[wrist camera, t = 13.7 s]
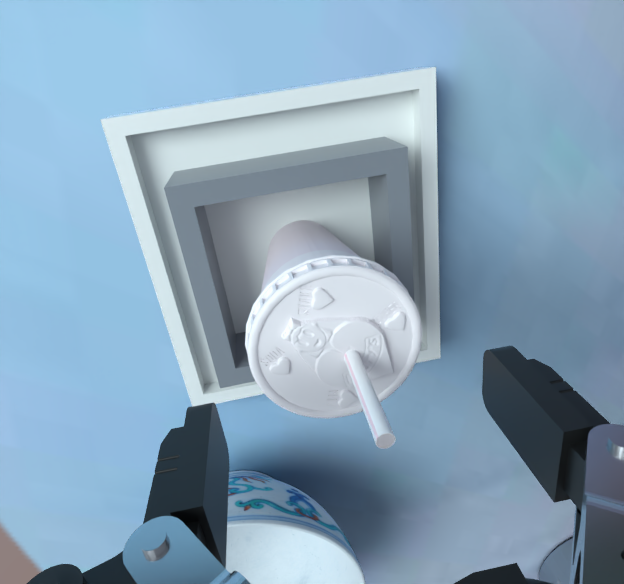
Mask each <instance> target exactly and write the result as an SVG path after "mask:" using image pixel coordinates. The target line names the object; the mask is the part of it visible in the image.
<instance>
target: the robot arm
mask: <svg viewBox="0 0 624 584" xmlns="http://www.w3.org/2000/svg"><path fill="white" fill-rule="evenodd" d="M482 394H483V400H484V404H485V406H486V409H487V411H488V412H489V414H490V415H491V417H492V418H493V419H494V421H495V422H496V424H497V425H498V426H499V428H500V429H501V430H502V432H503V433H504V434H505V436H506V437H507V439H508V440H509V441H510V443H511V444H512V445H513V447H514V448H515V450H516V451H517V452H518V454H519V455H520V456H521V458H522V459H523V461H524V462H525V463H526V465H527V466H528V467H529V469H530V470H531V471H532V473H533V474H534V476H535V477H536V478H537V480H538V481H539V482H540V484H541V485H542V487H543V488H544V489H545V491H546V492H547V493H548V495H549V496H550V497H551V499H552V500H553V502H559V501H563V500H568V499H571V500H572V501H573V503H574V504H575V505H576V511H575V519H574V532H573V538H572V539H570V540H568V541H566V542H565V543H563V544H562V545H560V546H559V547H557V548H556V549H555V550H554V551H553V552H552V553H551V554H550V555H549V556H548V557H547V558H546V560H545V561H544V563H543V565H542V566H541V569H540V572H539V580H535V579H527V578H525V577H524V575H523V574H522V572H521V570H520V568H519V567H518V565H517V563H515V564H510V565H506V566H501V567H497V568H492V569H488V570H484V571H479V572H475V573H472V574H470V575H468V576H467V577H465V578H463V579H461V580H460V581H458V582H456V583H454V584H624V426H623V425H617V424H610V423H609V422H608V421H607V420H606V419H605V418H604V417H603V416H602V415H600V414H599V413H598V412H597V411H596V410H595V409H594V408H593V407H592V406H591V405H590V404H589V403H588V402H587V401H586V400H585V399H584V398H583V397H581V396H580V395H579V394H578V393H577V392H576V391H573V388H572V387H571V386H570V385H569V384H568V383H567V382H566V381H563V379H562V378H561V377H560V376H559V375H558V374H557V373H556V372H555V371H554V370H553V369H552V368H551V367H549V366H547V365H545V364H543V363H541V362H539V361H537V360H535V359H530V360H527V359H526V358H525V357H524V356H523V355H522V354H521V353H520V352H519V351H518V350H517V349H516V348H515V347H513V346H506V347H501V348H496V349H491V350H486V351H485V353H484V357H483V386H482ZM228 486H229V454H228V448H227V443H226V439H225V436H224V432H223V429H222V425H221V422H220V418H219V414H218V411H217V408H216V405H215V403H214V402H213V403H208V404H203V405H198V406H193V407H188V408H187V412H186V418H185V424H184V427H180V428H174V429H171V430H170V432H169V433H168V435H167V436H166V437H165V439H164V440H163V442H162V443H161V446H160V450H159V455H158V462H157V464H156V468H155V475H154V478H153V482H152V487H151V491H150V496H149V500H148V505H147V509H146V514H145V518H144V522H143V525H141V526H140V527H139V528H138V529H136V530H135V531H134V533H133V534H132V535H131V536H130V538H129V539H128V541H127V542H126V544H125V547H124V550H123V551H122V552H121V553H120V554H118V555H117V556H115V557H113V558H112V559H110V560H108V561H106V562H104V563H102V564H100V565H98V566H96V567H94V568H92V569H90V570H88V571H86V572H84V573H82V572H81V571H80V569H79V568H77V567H76V566H74V565H71V564H61V565H56V566H53V567H50V568H48V569H46V570H44V571H43V572H41V573H39V574H38V575H37V576H35V577H34V578H33V579H31V580H30V581H29V582H28V583H27V584H250V582H249V581H248V580H247V579H246V578H245V577H244V576H243V575H242V574H240V573H239V572H237V571H233V572H232V573H230V572H228V571H227V570H226V545H227V515H228Z"/></svg>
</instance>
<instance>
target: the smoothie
mask: <svg viewBox="0 0 624 584" xmlns="http://www.w3.org/2000/svg"><path fill="white" fill-rule="evenodd" d="M421 343H422V324H421V319H420V315H419V312H418V309H417V307H416V305H415V303H414V301H413V299H412V298H411V297H410V295H409V293H408V290H407V289H406V288H405V287H404V285H403V284H402V283H401V282H400V280H399V279H398V278H397V277H396V275H395V274H393V273H392V272H390V271H389V270H387V269H386V268H384V267H383V266H381V265H380V264H378V263H376V262H373V261H370V260H367V259H364V258H361V257H359V256H358V255H357V254H356V253H355V252H353V251H352V250H351V249H350V248H349V247H347V246H346V245H345V244H344V243H343V242H341V241H340V240H339V239H338V238H337V237H335V236H334V235H333V234H332V233H331V232H329V231H328V230H327V229H326V228H325V227H323V226H322V225H320V224H318V223H316V222H313V221H307V220H301V221H295V222H291V223H289V224H287V225H285V226H283V227H282V228H281V229H280V230H279V231H277V233H276V234H275V235H274V236H273V238H272V240H271V242H270V245H269V249H268V255H267V261H266V266H265V272H264V278H263V283H262V289H261V294H260V296H259V297H258V298H257V300H256V301H255V303H254V304H253V307H252V309H251V312H250V315H249V318H248V321H247V323H246V336H245V347H246V350H247V354H248V362H249V366H250V370H251V372H252V375H253V377H254V379H255V381H256V383H257V385H258V386H259V388H260V389H261V390H262V391H263V393H264V394H265V395H266V396H267V397H268V398H269V399H270V400H272V401H273V402H274V403H276V404H277V405H279V406H280V407H282V408H284V409H286V410H288V411H290V412H293V413H295V414H299V415H302V416H307V417H313V418H337V417H344V416H349V415H352V414H356V413H359V412H362V411H364V413H365V416H366V419H367V421H368V424H369V427H370V429H371V432H372V435H373V437H374V440H375V443H376V445H377V447H379V448H381V449H386V448H389V447H391V446H392V445H393V444H394V443H395V436H394V434H393V431H392V429H391V427H390V424H389V422H388V420H387V418H386V415H385V413H384V411H383V408H382V406H381V404H380V402H381V401H383V400H384V399H386V398H387V397H389V396H390V395H391V394H392V393H393V392H394V391H396V390H397V389H398V388H399V387H400V386H401V384H402V383H403V382H404V381H405V380H406V378H407V377H408V376H409V374H410V372H411V371H412V369H413V367H414V365H415V363H416V361H417V358H418V356H419V352H420V349H421Z"/></svg>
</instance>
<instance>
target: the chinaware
mask: <svg viewBox="0 0 624 584" xmlns="http://www.w3.org/2000/svg"><path fill="white" fill-rule="evenodd" d="M226 570H227V571H228V572H230V573H232V572H233V571H237V572H239V573H240V574H242V575H243V576H244V577H245V578H246V579H247V580H248V581H249V582H250V584H365V578H364V575H363V571H362V569H361V566H360V564H359V561H358V559H357V557H356V555H355V553H354V551H353V549H352V547H351V545H350V543H349V542H348V540H347V538H346V537H345V535H344V533H343V532H342V530H341V529H340V528H339V526H338V525H337V523H336V522H335V521H334V520H333V518H332V517H331V516H330V515H329V514H328V513H327V511H326V510H325V509H324V508H323V507H322V506H321V505H319V504H318V503H317V502H316V501H315V500H314V499H312V498H311V497H310V496H308V495H307V494H305V493H304V492H302V491H300V490H299V489H297V488H295V487H293V486H291V485H289V484H286V483H284V482H281V481H278V480H275V479H273V478H272V477H270V476H268V475H266V474H263V473H260V472H256V471H248V470H240V471H232V472H229V486H228V515H227V545H226Z"/></svg>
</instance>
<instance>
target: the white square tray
mask: <svg viewBox="0 0 624 584" xmlns="http://www.w3.org/2000/svg"><path fill="white" fill-rule="evenodd" d="M101 123H102V126H103V129H104V132H105V136H106V139H107V142H108V145H109V148H110V151H111V154H112V157H113V160H114V164H115V167H116V170H117V173H118V176H119V179H120V182H121V185H122V189H123V192H124V195H125V198H126V201H127V204H128V207H129V210H130V213H131V217H132V220H133V223H134V226H135V229H136V232H137V235H138V238H139V241H140V245H141V248H142V251H143V254H144V257H145V260H146V263H147V266H148V269H149V273H150V276H151V279H152V282H153V285H154V288H155V291H156V294H157V298H158V301H159V304H160V307H161V310H162V313H163V316H164V319H165V322H166V326H167V329H168V332H169V335H170V338H171V341H172V344H173V347H174V350H175V354H176V357H177V360H178V363H179V366H180V369H181V372H182V375H183V378H184V382H185V385H186V388H187V391H188V394H189V397H190V400H191V403H192V407H193V406H198V405H203V404H208V403H213V402H214V403H215V404H217V403H222V402H227V401H232V400H237V399H242V398H246V397H251V396H256V395H261V394H264V393H263V391H262V390H261V389H260V388H259V386H258V385H257V383H256V381H255V379H254V377H253V375H252V372H251V370H250V366H249V362H248V354H247V350H246V347H245V336H246V323H247V321H248V318H249V315H250V312H251V309H252V307H253V304H254V303H255V301H256V300H257V298H258V297H259V296H260V294H261V289H262V283H263V278H264V272H265V266H266V261H267V255H268V249H269V245H270V242H271V240H272V238H273V236H274V235H275V234H276V233H277V231H279V230H280V229H281V228H282V227H283V226H285V225H287V224H289V223H291V222H295V221H301V220H307V221H313V222H316V223H318V224H320V225H322V226H323V227H325V228H326V229H327V230H328V231H329V232H331V233H332V234H333V235H334V236H335V237H337V238H338V239H339V240H340V241H341V242H343V243H344V244H345V245H346V246H347V247H349V248H350V249H351V250H352V251H353V252H355V253H356V254H357V255H358V256H359V257H361V258H364V259H367V260H370V261H373V262H376V263H378V264H380V265H381V266H383V267H384V268H386V269H387V270H389V271H390V272H392V273H393V274H395V275H396V277H397V278H398V279H399V280H400V282H401V283H402V284H403V285H404V287H405V288H406V289H407V290H408V293H409V295H410V297H411V298H412V299H413V301H414V303H415V305H416V307H417V309H418V312H419V315H420V319H421V324H422V343H421V349H420V352H419V356H418V358H417V361H416V363H419V362H424V361H429V360H434V359H439V358H441V356H440V293H439V230H438V167H437V104H436V67H418V68H412V69H406V70H399V71H393V72H386V73H380V74H374V75H367V76H361V77H354V78H348V79H342V80H335V81H329V82H323V83H316V84H310V85H303V86H297V87H291V88H284V89H278V90H271V91H265V92H259V93H252V94H246V95H240V96H233V97H227V98H220V99H214V100H208V101H201V102H195V103H189V104H182V105H176V106H169V107H163V108H157V109H150V110H144V111H137V112H131V113H125V114H118V115H112V116H109V117H107V118H104V119H101Z"/></svg>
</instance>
